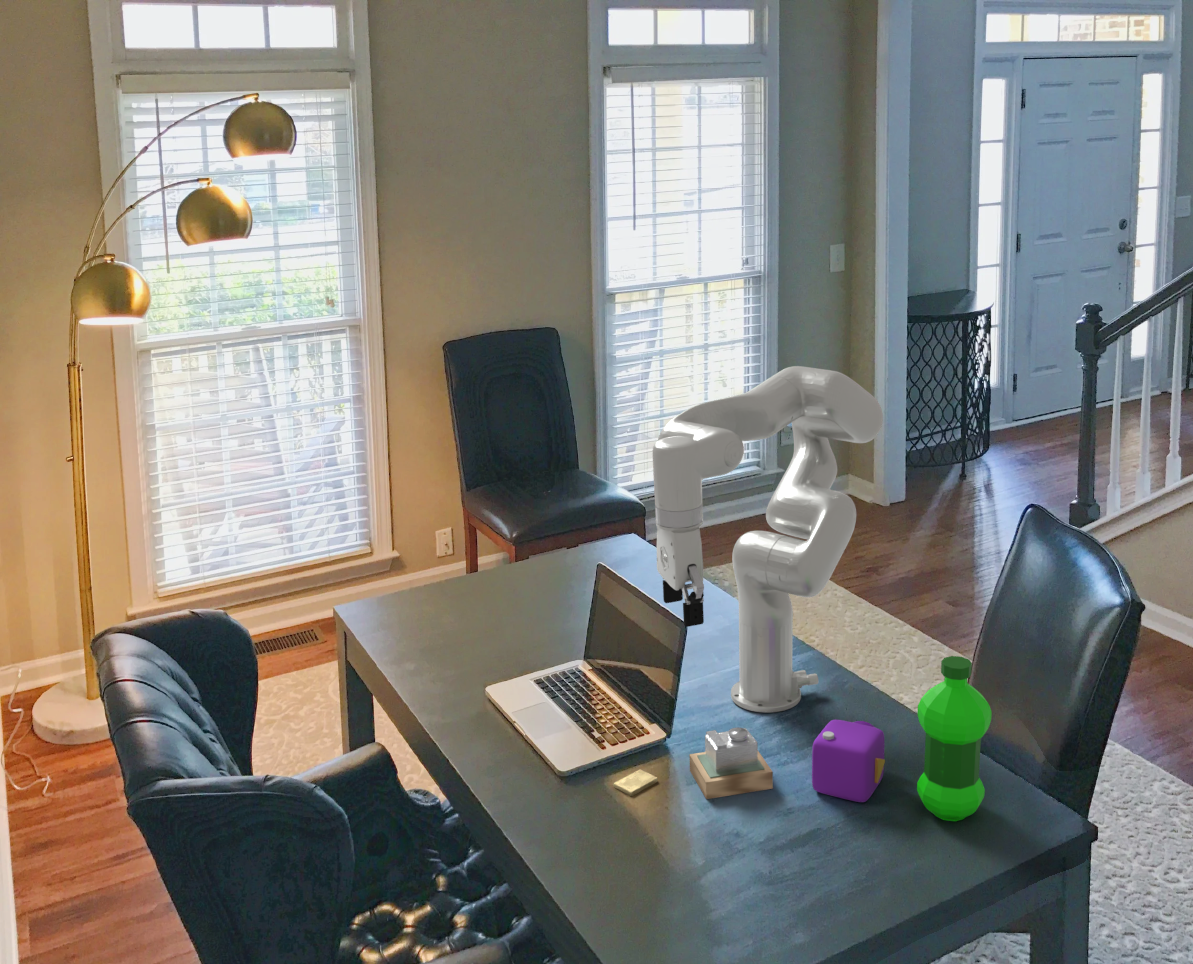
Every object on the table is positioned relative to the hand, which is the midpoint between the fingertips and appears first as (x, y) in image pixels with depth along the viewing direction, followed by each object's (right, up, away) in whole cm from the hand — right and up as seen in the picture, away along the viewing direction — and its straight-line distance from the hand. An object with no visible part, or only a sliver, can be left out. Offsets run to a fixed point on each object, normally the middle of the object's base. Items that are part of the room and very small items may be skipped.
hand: (683, 612), depth 207 cm
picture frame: (+7, -27, -2) cm, 28 cm away
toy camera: (+26, -27, -4) cm, 38 cm away
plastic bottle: (+40, -29, -14) cm, 51 cm away
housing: (+7, -23, -3) cm, 25 cm away
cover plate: (-8, -28, -2) cm, 29 cm away
